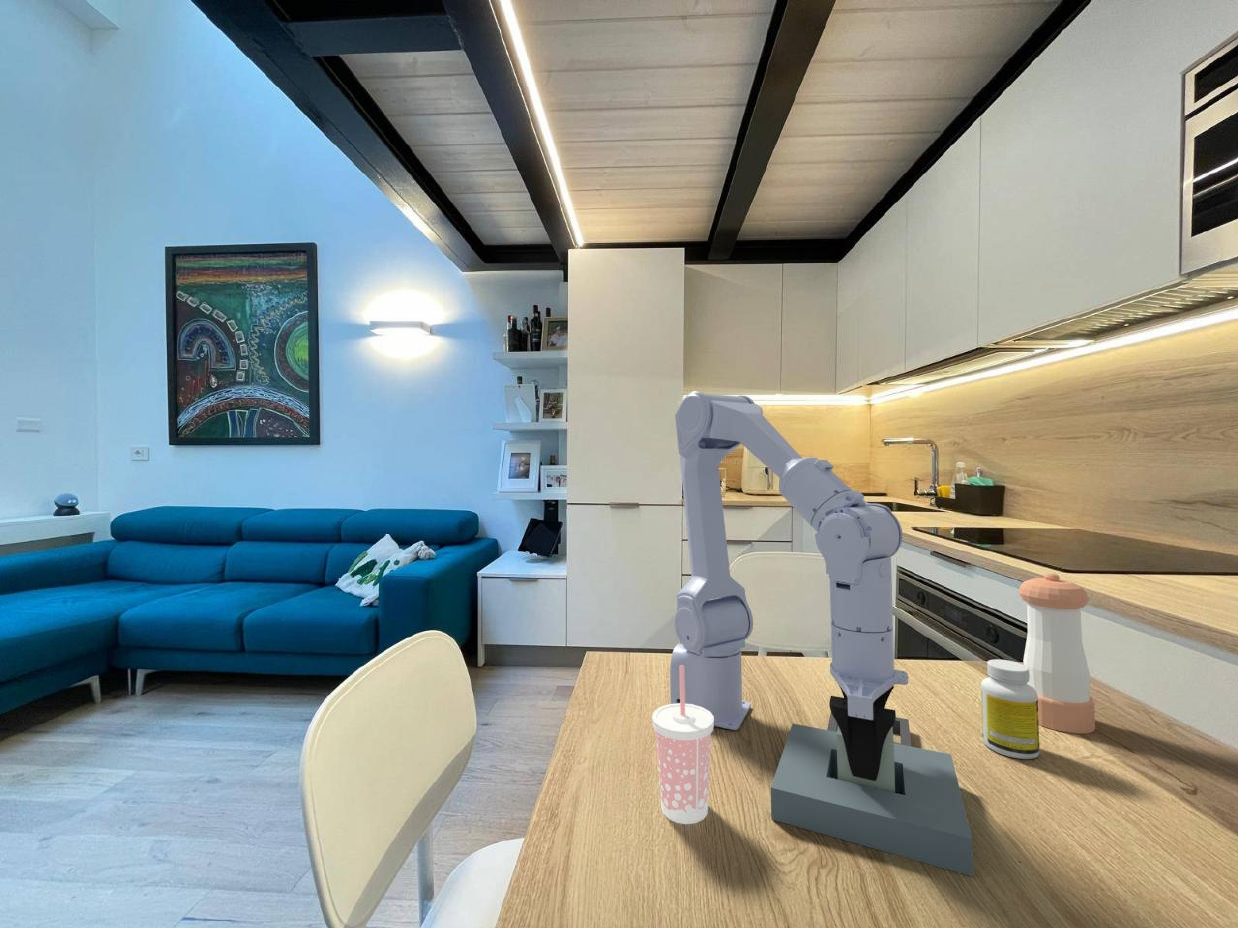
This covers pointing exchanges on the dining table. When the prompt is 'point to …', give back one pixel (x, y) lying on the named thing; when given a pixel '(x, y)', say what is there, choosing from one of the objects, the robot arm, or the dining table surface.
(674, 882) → the dining table surface
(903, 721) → the grey rectangular frame
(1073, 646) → the pepper shaker
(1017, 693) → the supplement bottle
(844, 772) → the plug
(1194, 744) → the dining table surface
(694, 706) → the beverage cup
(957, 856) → the port block
